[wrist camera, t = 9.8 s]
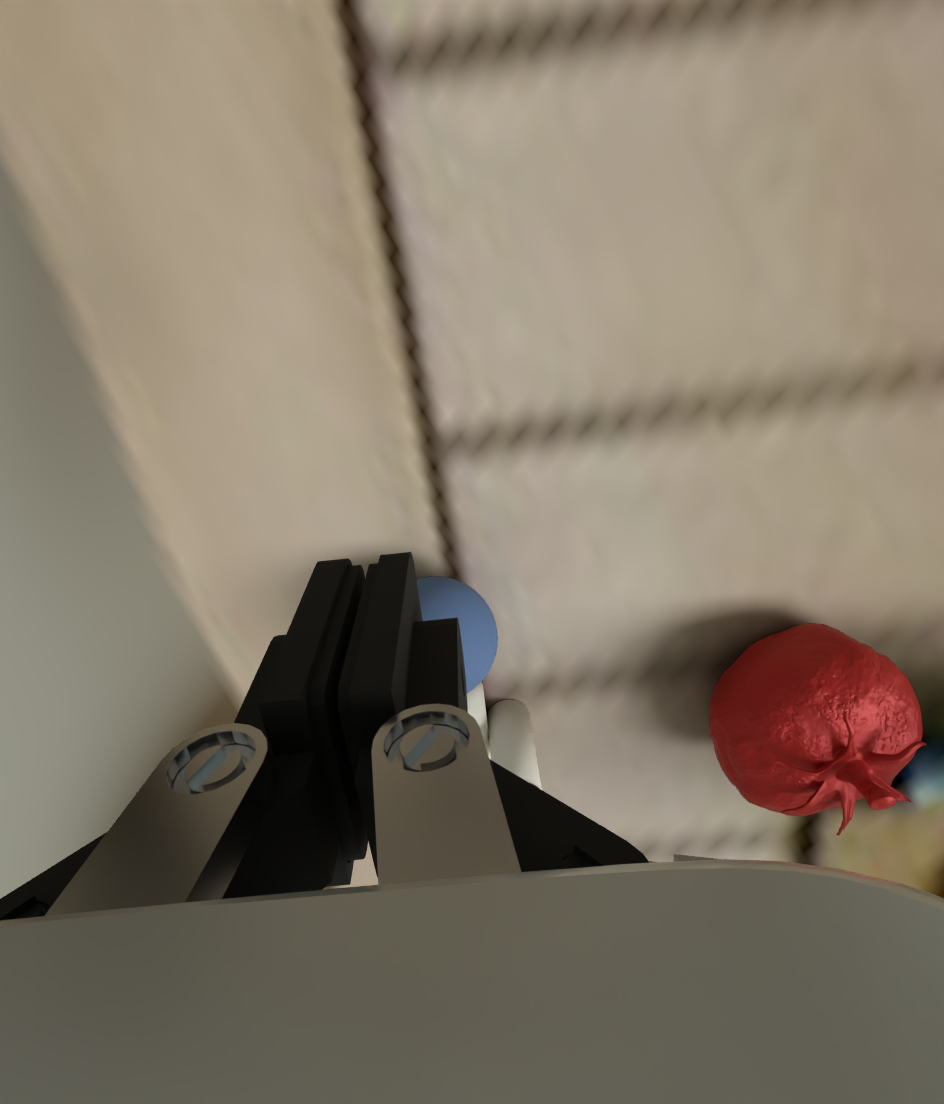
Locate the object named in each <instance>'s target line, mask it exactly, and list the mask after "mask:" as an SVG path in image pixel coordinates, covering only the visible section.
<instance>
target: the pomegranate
mask: <svg viewBox="0 0 944 1104" xmlns="http://www.w3.org/2000/svg"><path fill="white" fill-rule="evenodd" d="M709 712H710V714H709V726H710V735H711V738H712V740H713V742H714V749H715V753H716V756H717V759H718V761H719V763H720V766H721V768H722V770H723V772H724V773H725V775H726V776H727V778H728V779H729V781H730V782H731V783H732V784H733V785H734V786H736V788H737V789H738V790H739V792H740V794H741V795H742V796H743V797H744V798H745V799H746V800H747V801H748V802H749V803H752V804H755V805H757V806H760V807H763V808H766V809H768V810H771V811H775V812H779V813H782V814H786V815H790V816H806V815H811V814H814V813H816V812H820V811H824V810H827V809H832V808H837V807H840V806H842V808H843V821H842V824H841V827H840V829H839V831H838V833H837V835H840V833H841V832H842V830H843V829H844V828H845V827H846V826H847V824H848V823H849V821H850V820H851V819H852V815H853V810H854V806H855V800H857V799H862V798H865V799H866V800H867V802H868V805H869V807H870V808H871V809H875V810H878V809H886V808H889V807H891V806H893V805H895V803H896V800H898V801H900V802H903V801H909V802H911V801H910V800H909V799H908V798H906V796H905V795H904V794H903V793H901V792H900V791H898V790H896V789H894V788H893V787H891V786H890V785H891V783H892V781H893V779H894V778H895V776H896V775H897V774H898V773H899V772H900V771H901V770H902V769H903V768H904V767H905V766H906V765H907V764H908V763H909V761H910V760H911V759H912V758H913V757H914V755H915V753H916V750H917V749H918V748H920V747H921V746H923V745H926V743H924V742H921V739H922V734H923V729H922V717H921V709H920V705H919V703H918V700H917V697H916V695H915V692H914V690H913V688H912V686H911V684H910V682H909V680H908V678H907V677H906V675H905V674H903V673H902V672H901V671H900V670H899V669H898V668H897V666H896V665H895V664H894V663H893V662H892V661H891V660H890V659H889V658H887V657H886V656H884V655H880V654H879V653H877V652H875V651H874V650H873V649H872V648H871V647H869V646H868V645H866V644H862V643H859V642H858V641H856V640H854V639H853V638H850V637H849V636H847V635H845V634H844V633H842V632H840V631H839V630H837V629H834V628H831V627H829V626H827V625H824V624H815V623H808V624H803V625H797V626H794V627H791V628H789V629H787V630H785V631H782V632H780V633H776V634H773V635H769V636H767V637H765V638H763V639H761V640H759V641H757V642H756V643H754V644H752V645H751V646H750V647H748V648H747V649H746V650H745V651H744V652H743V653H742V654H741V655H740V656H739V657H738V659H737V660H736V661H735V662H734V663H733V664H732V665H731V666H730V667H728V668H727V669H726V670H725V671H724V672H723V674H722V676H721V678H720V679H719V681H718V682H717V684H716V686H715V687H714V689H713V693H712V697H711V700H710V705H709Z"/></svg>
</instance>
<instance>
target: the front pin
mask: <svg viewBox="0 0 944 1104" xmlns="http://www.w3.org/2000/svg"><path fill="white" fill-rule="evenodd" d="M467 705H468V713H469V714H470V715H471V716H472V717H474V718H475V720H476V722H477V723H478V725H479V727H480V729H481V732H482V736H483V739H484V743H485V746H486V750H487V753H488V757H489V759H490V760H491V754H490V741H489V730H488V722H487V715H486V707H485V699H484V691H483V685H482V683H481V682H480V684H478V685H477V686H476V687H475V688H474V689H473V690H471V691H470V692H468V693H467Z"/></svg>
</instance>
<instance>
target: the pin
mask: <svg viewBox="0 0 944 1104" xmlns="http://www.w3.org/2000/svg"><path fill="white" fill-rule="evenodd" d="M488 728H489V741H490V754H491V760H492V761H494V762H495V763H497V764H499V765H500V766H502V767H504V768H505V769H507V770H509V771H510V772H512V773H514V774H516V775H517V776H519V777H521V778H522V779H524V780H526V781H527V782H529V783H531V784H532V785H534V786H536V787H537V788H539V789H541V790H542V788H541V782H540V776H539V770H538V764H537V758H536V752H535V746H534V740H533V734H532V728H531V722H530V715H529V711H528V709H527V707H526V706H525V705H524V704H523V703H521V702H519V701H517V700H511V699H508V700H502V701H499V702H497V703H496V704H494V705H493V706H492V707H491V708H490V710H489V712H488Z"/></svg>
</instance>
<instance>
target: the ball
mask: <svg viewBox="0 0 944 1104" xmlns="http://www.w3.org/2000/svg"><path fill="white" fill-rule="evenodd" d="M416 580H417V587H418V593H419V600H420V606H421V613H422V619H423V621H427V620H437V619H447V618H457V617H458V620H459V626H460V633H461V641H462V649H463V657H464V666H465V676H466V688H467V693H468V692H470V691H471V690H473V689H474V688H475V687H476V686H477V685H478V684H480V682H481V681H482V680H483V679H484V678H485V676H486V675H487V673H488V672H489V670H490V668H491V666H492V664H493V662H494V659H495V655H496V651H497V641H498V636H497V628H496V623H495V619H494V617H493V614H492V612H491V610H490V608H489V606H488V605H487V603H486V602H485V600H484V599H483V598H482V597H481V596H480V595H479V594H478V593H477V592H476V591H475V590H474V589H472V588H471V587H469V586H468V585H466V584H464V583H462V582H460V581H458V580H455V579H451V578H447V577H439V576H434V577H424V578H420V579H416Z"/></svg>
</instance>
